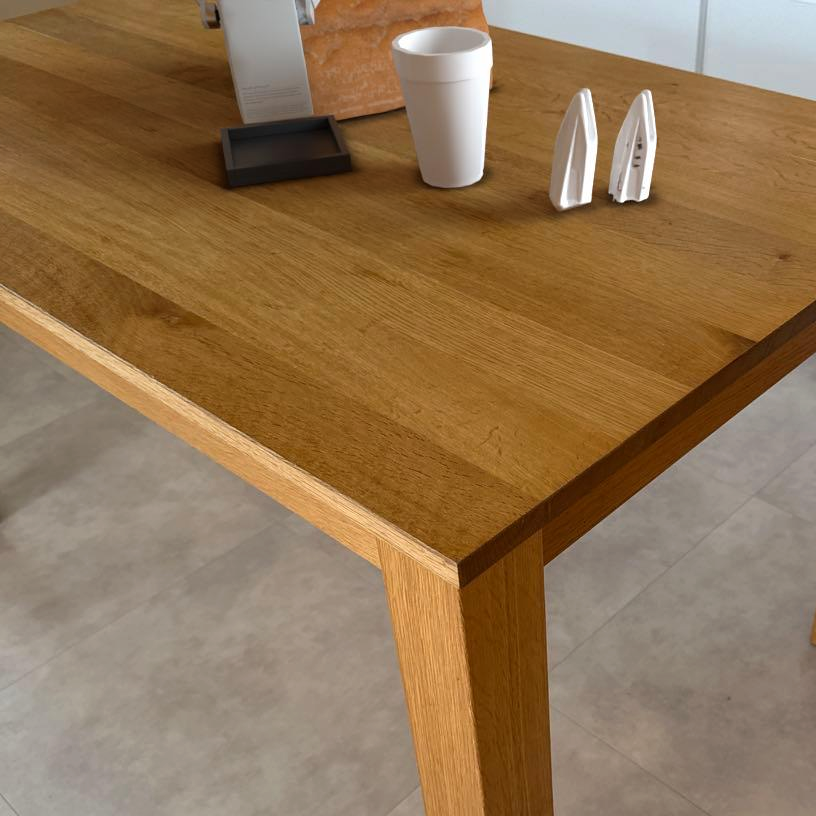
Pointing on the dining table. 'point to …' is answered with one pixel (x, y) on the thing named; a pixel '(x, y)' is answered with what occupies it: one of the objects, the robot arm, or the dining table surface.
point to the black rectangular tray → (284, 150)
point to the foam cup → (446, 100)
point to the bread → (370, 49)
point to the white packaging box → (266, 59)
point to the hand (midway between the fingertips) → (258, 24)
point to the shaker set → (580, 151)
